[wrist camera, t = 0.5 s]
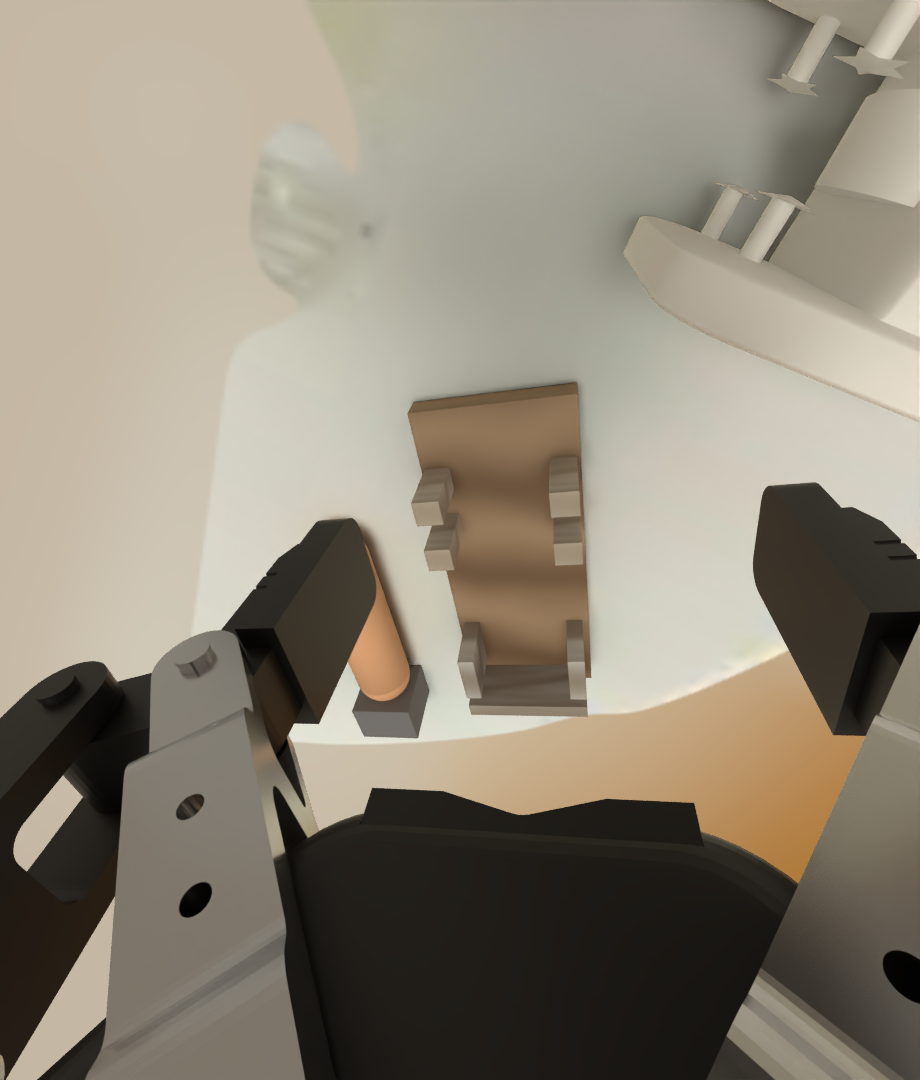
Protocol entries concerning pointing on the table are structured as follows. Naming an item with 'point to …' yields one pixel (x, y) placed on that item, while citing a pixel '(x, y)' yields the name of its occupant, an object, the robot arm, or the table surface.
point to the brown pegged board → (510, 543)
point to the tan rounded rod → (386, 677)
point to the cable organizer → (821, 232)
